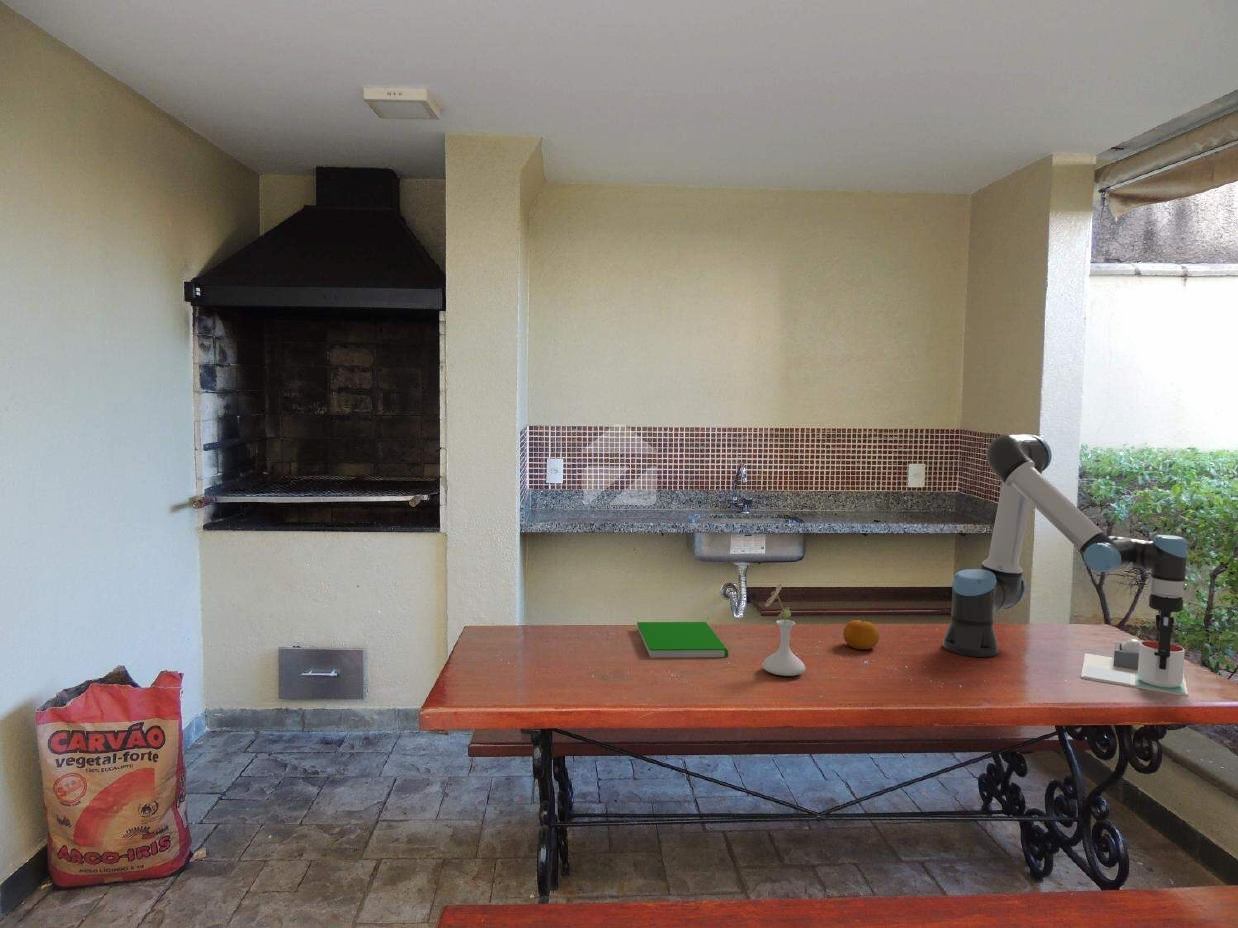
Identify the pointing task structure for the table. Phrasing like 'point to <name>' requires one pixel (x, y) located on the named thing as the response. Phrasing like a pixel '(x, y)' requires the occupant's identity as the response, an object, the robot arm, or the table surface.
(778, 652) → the flower in vase
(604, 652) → the table surface
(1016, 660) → the table surface
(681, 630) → the book
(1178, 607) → the robot arm
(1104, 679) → the game board
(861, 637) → the fruit
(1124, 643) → the dome button
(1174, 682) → the cup
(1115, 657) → the dome housing
